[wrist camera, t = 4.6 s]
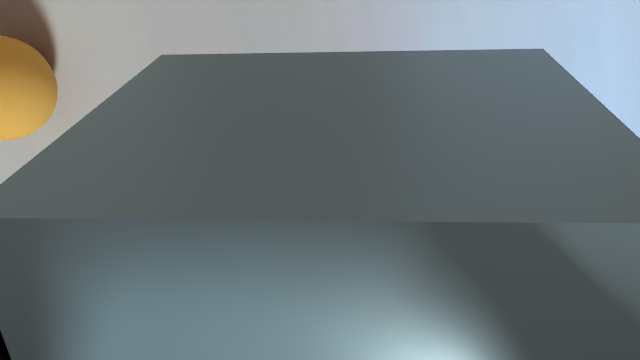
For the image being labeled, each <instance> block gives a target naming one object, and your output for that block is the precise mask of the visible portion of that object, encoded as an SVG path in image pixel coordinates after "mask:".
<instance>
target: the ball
mask: <svg viewBox="0 0 640 360" xmlns="http://www.w3.org/2000/svg"><path fill="white" fill-rule="evenodd" d="M56 101H57V82H56V78H55V75H54V73H53V70H52V69H51V67H50V65H49V64H48V62H47V61H46V59H45V58H44V57H43V56H42V55H41V54H40V53H39V52H38V51H37V50H36V49H34V48H33V47H31V46H30V45H28V44H26V43H24V42H22V41H20V40H18V39H15V38H12V37H7V36H1V35H0V140H13V139H18V138H22V137H24V136H27V135H29V134H31V133H33V132H35V131H36V130H38V129H39V128H40V127H41V126H43V125H44V124H45V123H46V121H47V120H48V119H49V117H50V116H51V114H52V113H53V110H54V108H55V105H56Z"/></svg>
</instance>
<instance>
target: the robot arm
mask: <svg viewBox="0 0 640 360" xmlns="http://www.w3.org/2000/svg"><path fill="white" fill-rule="evenodd" d="M0 360H11V357H10V355H9V352H8V349H7V347H6V344H5V341H4V338H3V336H2V333H1V330H0Z"/></svg>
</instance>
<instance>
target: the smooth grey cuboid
mask: <svg viewBox="0 0 640 360" xmlns="http://www.w3.org/2000/svg"><path fill="white" fill-rule="evenodd" d="M0 330H1V333H2V336H3V338H4V341H5V344H6V347H7V349H8V352H9V355H10V357H11V360H640V138H639V137H637V136H636V135H635V134H634V133H633V132H632V131H631V130H630V129H629V128H628V127H627V126H626V125H624V124H623V123H622V122H621V121H620V120H619V119H618V118H617V117H616V116H615V115H614V114H613V113H612V112H610V111H609V110H608V109H607V108H606V107H605V106H604V105H603V104H602V103H601V102H600V101H599V100H597V99H596V98H595V97H594V96H593V95H592V94H591V93H590V92H589V91H588V90H587V89H586V88H585V87H583V86H582V85H581V84H580V83H579V82H578V81H577V80H576V79H575V78H574V77H573V76H572V75H571V74H569V73H568V72H567V71H566V70H565V69H564V68H563V67H562V66H561V65H560V64H559V63H558V62H556V61H555V60H554V59H553V58H552V57H551V56H550V55H549V54H548V53H547V52H546V51H545V50H544V49H501V50H438V51H376V52H313V53H250V54H188V55H161V56H160V57H158V58H157V59H156V60H155V61H153V62H152V63H151V64H150V65H148V66H147V67H146V68H145V69H143V70H142V71H141V72H140V73H139V74H137V75H136V76H135V77H134V78H132V79H131V80H130V81H129V82H127V83H126V84H125V85H124V86H122V87H121V88H120V89H119V90H117V91H116V92H115V93H114V94H112V95H111V96H110V97H109V98H107V99H106V100H105V101H104V102H102V103H101V104H100V105H99V106H97V107H96V108H95V109H94V110H92V111H91V112H90V113H89V114H87V115H86V116H85V117H84V118H83V119H81V120H80V121H79V122H78V123H76V124H75V125H74V126H73V127H71V128H70V129H69V130H68V131H66V132H65V133H64V134H63V135H61V136H60V137H59V138H58V139H56V140H55V141H54V142H53V143H51V144H50V145H49V146H48V147H46V148H45V149H44V150H43V151H41V152H40V153H39V154H38V155H36V156H35V157H34V158H33V159H31V160H30V161H29V162H28V163H27V164H25V165H24V166H23V167H22V168H20V169H19V170H18V171H17V172H15V173H14V174H13V175H12V176H10V177H9V178H8V179H7V180H5V181H4V182H3V183H2V184H0Z"/></svg>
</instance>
